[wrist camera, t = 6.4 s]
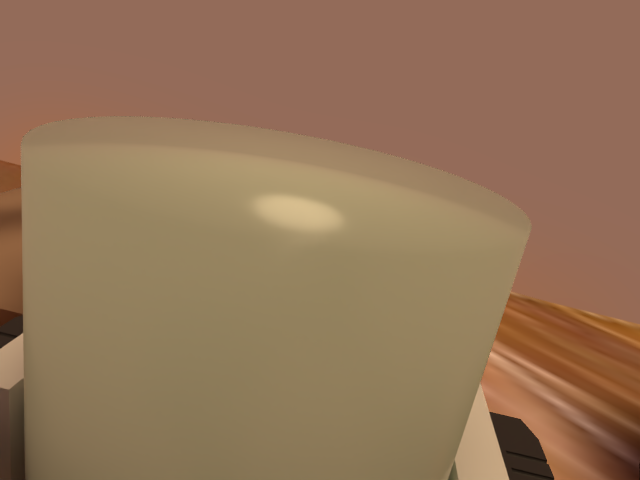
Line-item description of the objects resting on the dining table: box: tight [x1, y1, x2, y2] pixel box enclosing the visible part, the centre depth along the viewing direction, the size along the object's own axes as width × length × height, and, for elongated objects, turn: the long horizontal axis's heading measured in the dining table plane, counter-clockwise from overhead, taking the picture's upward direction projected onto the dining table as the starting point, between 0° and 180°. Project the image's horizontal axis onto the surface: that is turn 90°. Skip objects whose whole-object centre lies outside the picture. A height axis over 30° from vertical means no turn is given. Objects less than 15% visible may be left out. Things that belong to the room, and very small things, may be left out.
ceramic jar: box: [21, 116, 532, 480], centre depth 9 cm, size 6×6×11 cm
